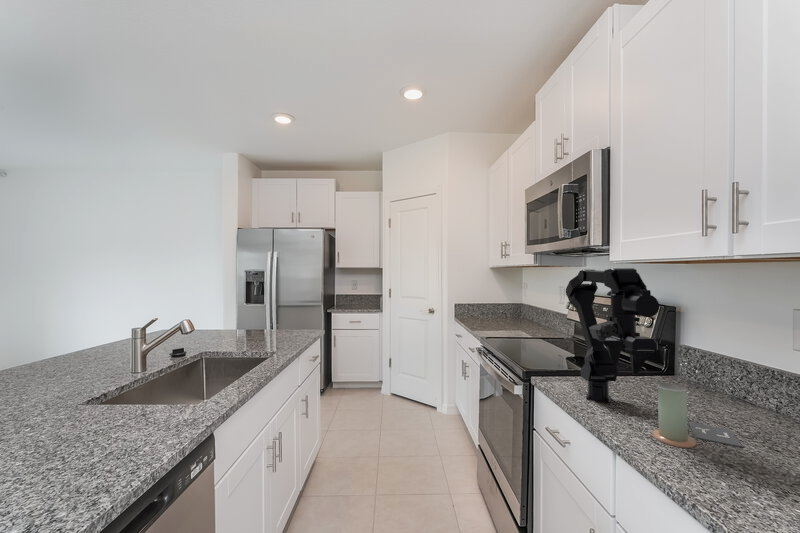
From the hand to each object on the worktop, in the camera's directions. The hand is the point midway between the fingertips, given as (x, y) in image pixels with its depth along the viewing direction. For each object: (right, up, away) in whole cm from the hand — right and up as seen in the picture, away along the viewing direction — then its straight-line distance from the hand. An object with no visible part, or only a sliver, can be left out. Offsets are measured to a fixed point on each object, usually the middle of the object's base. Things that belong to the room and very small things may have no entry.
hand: (624, 369), depth 93 cm
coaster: (+3, -13, -13) cm, 18 cm away
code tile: (+15, -13, -11) cm, 22 cm away
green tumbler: (+3, -12, -13) cm, 18 cm away
